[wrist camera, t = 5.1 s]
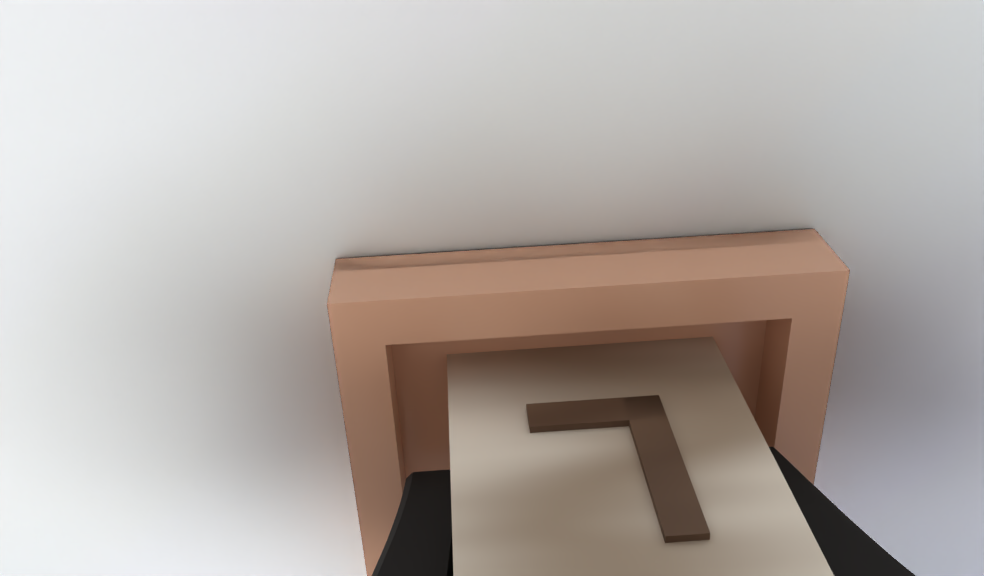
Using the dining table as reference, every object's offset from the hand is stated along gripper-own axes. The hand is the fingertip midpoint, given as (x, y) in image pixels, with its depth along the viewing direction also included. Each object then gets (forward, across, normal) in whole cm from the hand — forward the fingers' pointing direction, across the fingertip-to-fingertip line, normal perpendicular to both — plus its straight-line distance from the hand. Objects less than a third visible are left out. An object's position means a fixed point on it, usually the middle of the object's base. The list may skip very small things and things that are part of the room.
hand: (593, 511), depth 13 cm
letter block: (+1, 0, 0) cm, 1 cm away
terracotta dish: (+2, 0, 0) cm, 2 cm away
